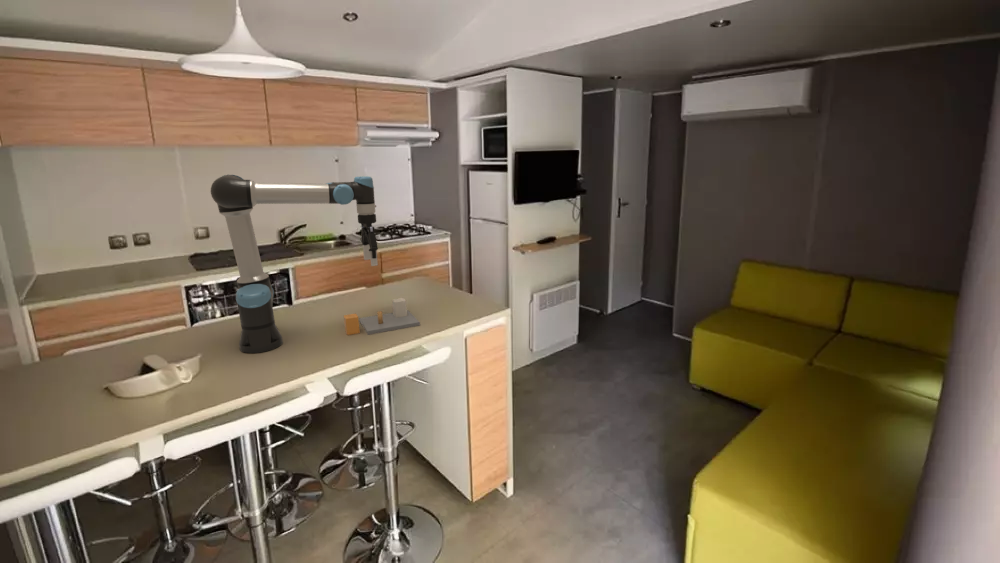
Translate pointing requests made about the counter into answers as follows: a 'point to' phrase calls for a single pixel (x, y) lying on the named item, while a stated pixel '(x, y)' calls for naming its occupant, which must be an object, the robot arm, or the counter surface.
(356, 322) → the orange rectangular block
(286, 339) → the counter surface
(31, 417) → the counter surface
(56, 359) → the counter surface
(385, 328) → the plate
